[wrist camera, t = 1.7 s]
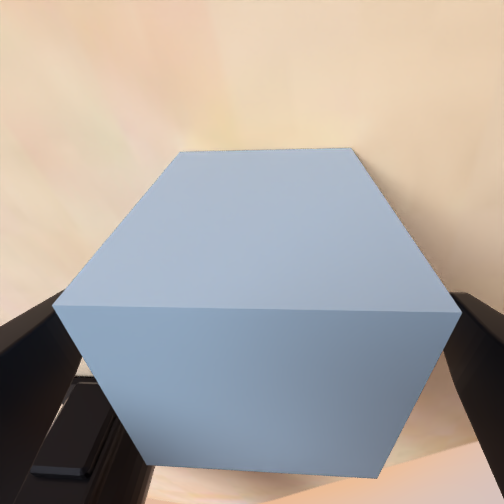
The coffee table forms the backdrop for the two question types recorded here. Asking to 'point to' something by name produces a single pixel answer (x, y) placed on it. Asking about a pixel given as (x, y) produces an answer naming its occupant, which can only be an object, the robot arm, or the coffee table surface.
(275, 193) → the pale blue foam brick
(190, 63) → the coffee table surface
